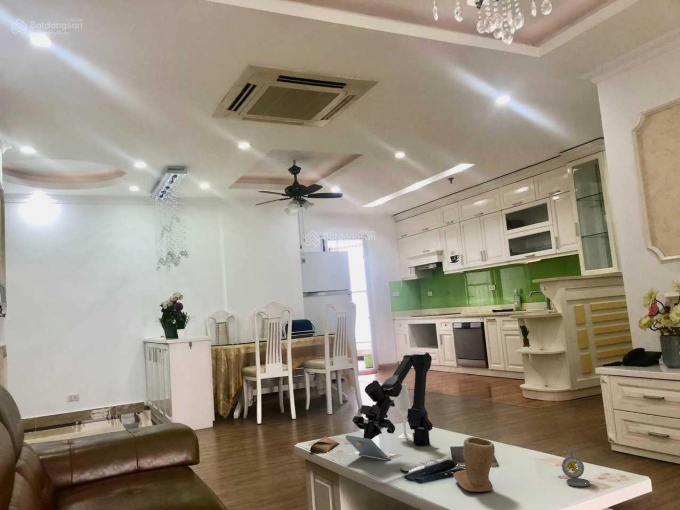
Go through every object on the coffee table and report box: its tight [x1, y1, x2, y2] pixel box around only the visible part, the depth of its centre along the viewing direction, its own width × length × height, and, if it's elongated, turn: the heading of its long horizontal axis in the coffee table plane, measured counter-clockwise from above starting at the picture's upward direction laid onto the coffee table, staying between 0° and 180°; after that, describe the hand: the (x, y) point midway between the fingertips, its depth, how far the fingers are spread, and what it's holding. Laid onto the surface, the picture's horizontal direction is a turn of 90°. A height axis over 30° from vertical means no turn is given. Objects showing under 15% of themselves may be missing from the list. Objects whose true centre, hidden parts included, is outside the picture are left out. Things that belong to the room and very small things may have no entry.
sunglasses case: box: [309, 435, 340, 454], centre depth 227 cm, size 18×7×7 cm, turn 164°
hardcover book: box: [449, 445, 499, 467], centre depth 197 cm, size 16×23×2 cm
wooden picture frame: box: [358, 451, 403, 462], centre depth 205 cm, size 10×16×2 cm, turn 44°
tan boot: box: [453, 436, 496, 493], centre depth 164 cm, size 15×12×15 cm
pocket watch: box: [561, 447, 591, 488], centre depth 161 cm, size 8×8×10 cm
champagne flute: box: [395, 383, 413, 439], centre depth 241 cm, size 7×7×24 cm
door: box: [345, 434, 388, 460], centre depth 199 cm, size 2×13×12 cm
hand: (364, 443), depth 199 cm, fingers closed, pressing on door
